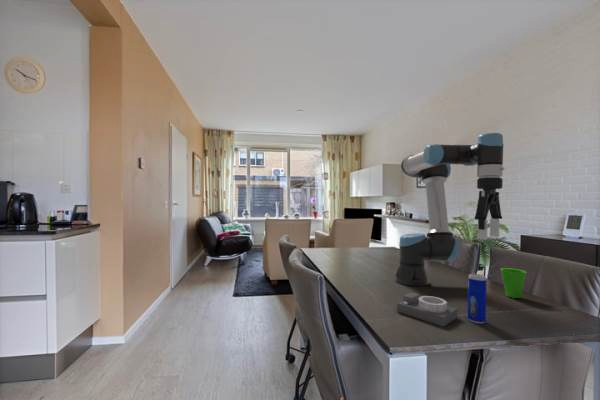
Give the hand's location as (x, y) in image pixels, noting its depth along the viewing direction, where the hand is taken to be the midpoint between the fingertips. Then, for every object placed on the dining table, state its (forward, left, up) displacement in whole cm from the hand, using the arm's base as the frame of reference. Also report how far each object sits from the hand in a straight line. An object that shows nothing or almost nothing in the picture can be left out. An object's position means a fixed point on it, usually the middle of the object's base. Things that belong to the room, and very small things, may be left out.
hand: (488, 237), depth 103 cm
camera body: (-13, -18, -27) cm, 35 cm away
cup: (+1, +30, -27) cm, 40 cm away
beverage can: (0, -10, -27) cm, 29 cm away
